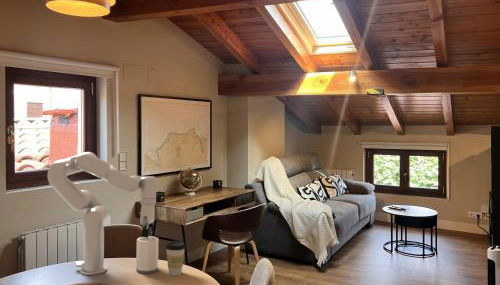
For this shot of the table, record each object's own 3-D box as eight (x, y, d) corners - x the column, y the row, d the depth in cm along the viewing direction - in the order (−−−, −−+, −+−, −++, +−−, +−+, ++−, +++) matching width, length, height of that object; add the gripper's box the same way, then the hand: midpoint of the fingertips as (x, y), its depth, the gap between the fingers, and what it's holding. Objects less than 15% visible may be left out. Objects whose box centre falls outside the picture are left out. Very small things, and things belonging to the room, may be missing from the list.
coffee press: (133, 273, 207) (134, 241, 206) (141, 265, 219) (141, 235, 219) (154, 274, 206) (155, 242, 206) (161, 265, 219) (161, 235, 219)
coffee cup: (180, 277, 203) (181, 247, 202) (161, 275, 205) (162, 245, 204) (187, 271, 212) (188, 241, 212) (169, 269, 214) (170, 240, 214)
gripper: (145, 197, 220) (145, 230, 220) (135, 203, 202) (135, 238, 203) (160, 198, 219) (159, 230, 220) (151, 204, 202) (150, 239, 203)
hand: (147, 234), depth 211 cm, fingers open, 9 cm apart
